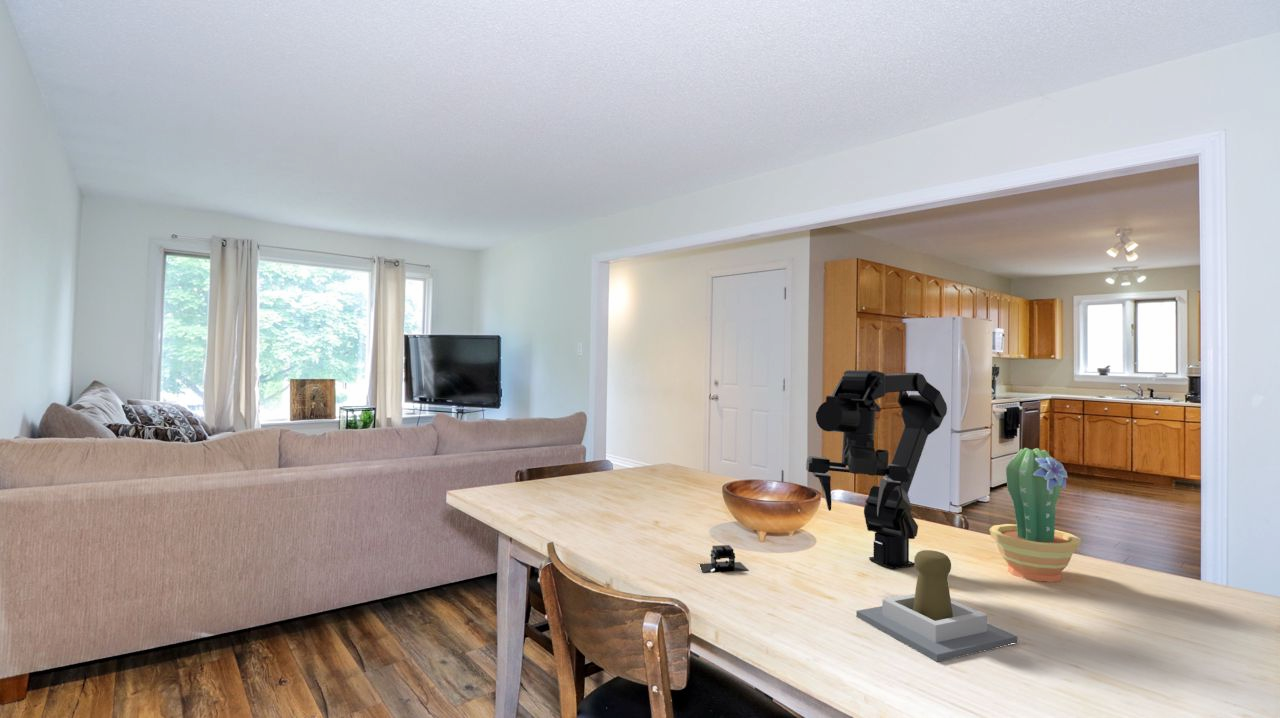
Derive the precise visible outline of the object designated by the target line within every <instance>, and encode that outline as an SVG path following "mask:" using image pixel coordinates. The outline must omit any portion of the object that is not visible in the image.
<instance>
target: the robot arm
mask: <svg viewBox="0 0 1280 718" xmlns="http://www.w3.org/2000/svg"><path fill="white" fill-rule="evenodd" d="M908 392H917V393H918V394H910V395H909V393H908ZM888 393H899V394H898V398H897V402H898V405H899V406H900V409H902V410H901V417H902V420H903V423H904V428H903V431H902V433H901V436H900V439H899V441H898V445H897V447H896V450H895V451H894V455H893V458H892V461H891V463H889V455H890V454H889V451H888V450H887V449H876V450H875V424H876V412H877V413H880V412H881V411H882V409H881V407H880V406H879V405H878V404H877V403H876V400H878V399H881V398H883V397H885V396H886V394H888ZM817 408H818V409H817V411H816V412H815V421H816V423H817V425H818V427H819V428H820V429H821V430H822V431H825V432H829V433H830V432H833V433H842V434H843V435H842V451H841V452H842V453H841V462H838V461H830V459H829V458H827V457H822V456H811V455H810V456H808V457H807V458H806V464H805V470H806V471H807V472H808V473H812V476H814V478H817V479H818V481H819V483H820V485H821V488H822V491H823V496H824V499H825V502H826V506H827V510H828V511H832V490H831V489H832V487H831V486H832V485H831V480H832V479H831V477H832V476H831V475H830V474H829V473H830V471H831V472H840V473H850V474H854V475H858V474H860V475H868V476H870V477H871V476H872V477H873V476H880V477H883V478H880V480H879V486H877V485H873V486H872V487H871V488H870V490H869V493H868V496H867V498H866V500H865V501H864V502H865V504H864V506H863V507H864V508H863V515H864V520H865V524H866V530H867V532H874V540H873V556H870V557H868V558H869V559H868V560H869V561H871V562H874V563H876V564H878V565H881V566H883V567H886V568H888V569H891V570H894V569H901V568H907V567H914V566H915V564H914V561H911V560H910V559H909V558H910V557H909V556H910V553H909V552H910V547H909V546H910V543H909V542H910V540H915V539H916V537H917V535H918V530H919V524H918V523H917V522H916V520H915V519H914V517H913V515H912V503H911V501H910V498H909V491H910V487H911V486H912V483H913V479H914V477H915V474H916V471H917V467H918V465H919V462H920V459H921V457H922V454H923V451H924V449H925V446H926V441H927V439H928V437H929V435H931V434H932V433H933V432H935V431H936V430H937V429H939V428H940V426H941V424H942V422H943V420H944V419H945V416H946V415H947V411H948V405H947V403H946V401H945V399H944V397H943V394H942V393H941V391H940V390H939V389H937V388H936V387H935V386H933V385H932V384H930V383H929V382H928V381H927V379H926V377H925V376H924V374H922V373H920V372H901V373H890V374H885V373H884V372H883V371H879V370H871V369H870V370H867V369H866V370H864V369H863V370H861V369H860V370H859V369H857V370H856V369H855V370H852V369H848V370H846V371H844V372H843V376H842V377H841V378H840V380H839V382H838V383H837V385H836V387H835V389H834V390H833V392H832V394H831V395H826V396H825V402H823V403H821V404H820V406H819V407H817Z"/></svg>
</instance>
